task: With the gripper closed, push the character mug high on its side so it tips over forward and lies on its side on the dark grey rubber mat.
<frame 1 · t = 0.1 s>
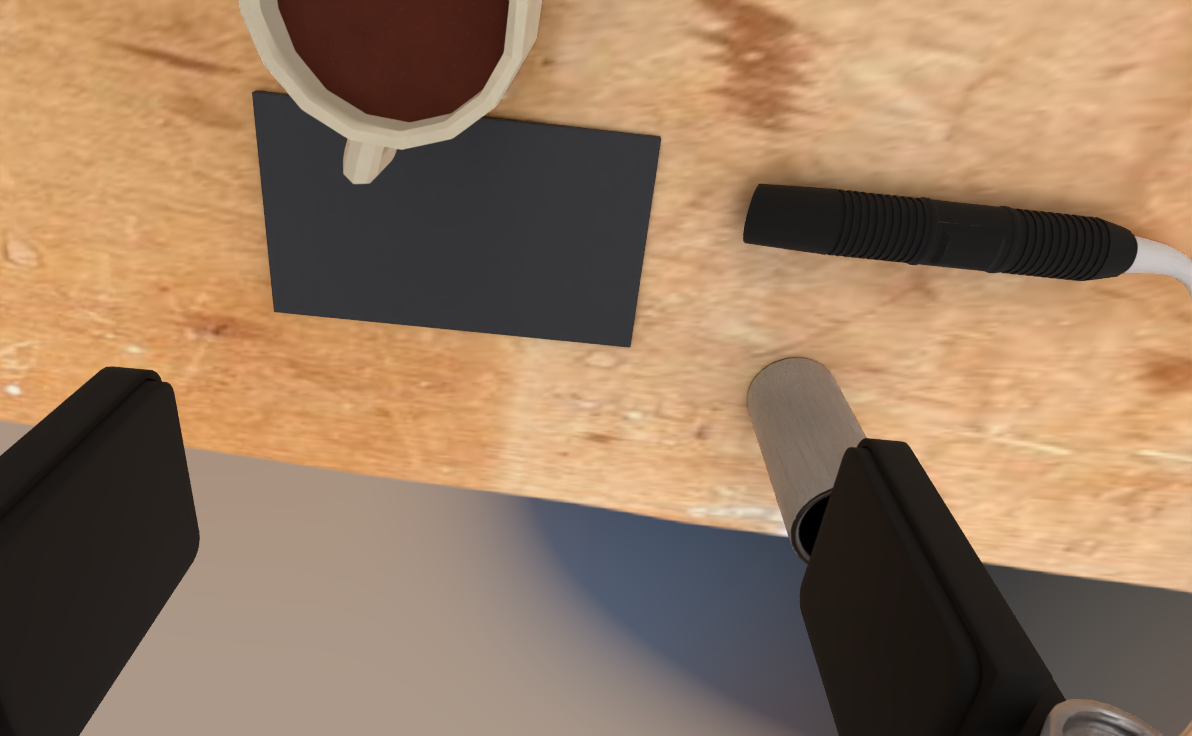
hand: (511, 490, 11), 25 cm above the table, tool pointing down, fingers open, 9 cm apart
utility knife: (964, 237, 35), on the table
mat: (457, 227, 35), on the table
grey hollow cylinder: (790, 393, 39), on the table
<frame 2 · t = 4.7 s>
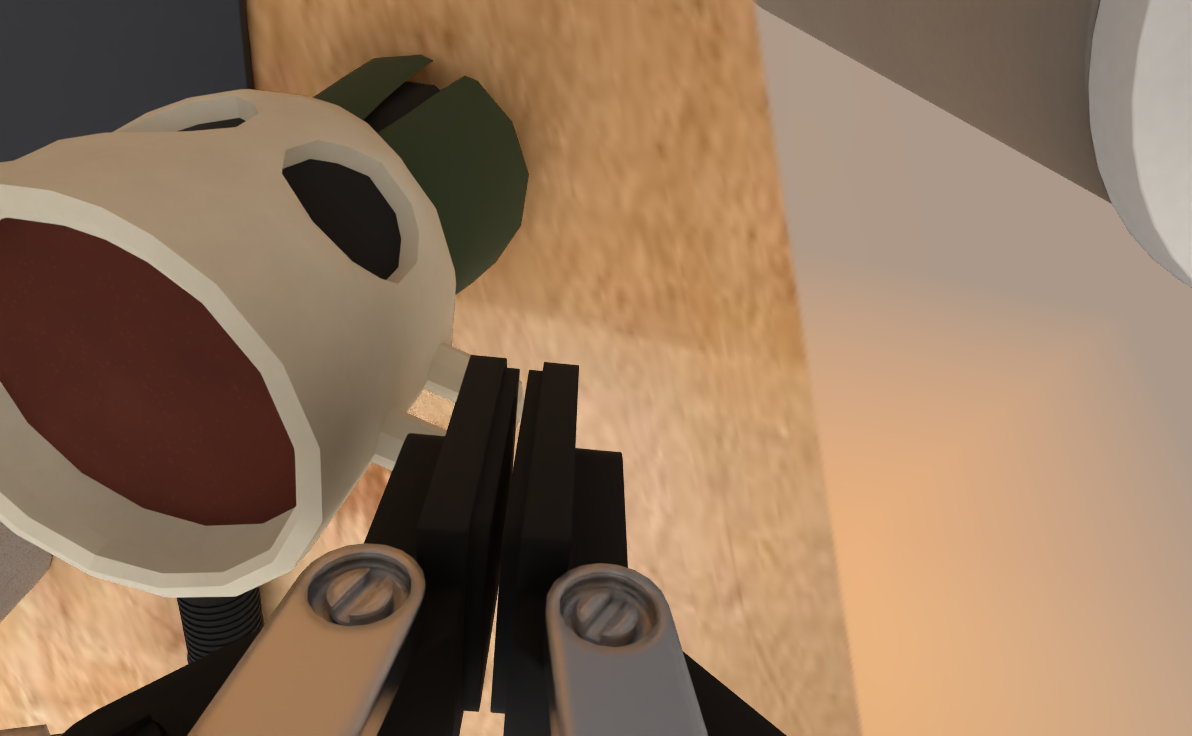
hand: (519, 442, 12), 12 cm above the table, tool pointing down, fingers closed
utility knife: (240, 662, 34), on the table
character mug: (430, 166, 22), on the table, touching gripper
mat: (84, 120, 22), on the table
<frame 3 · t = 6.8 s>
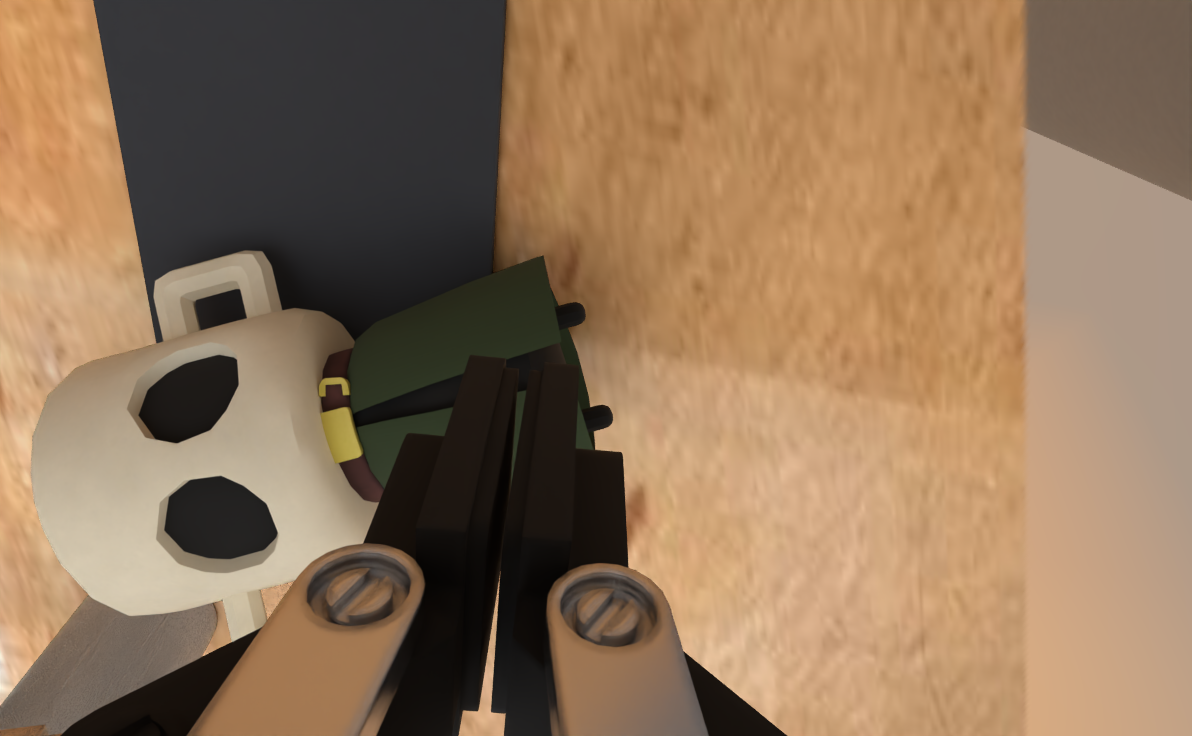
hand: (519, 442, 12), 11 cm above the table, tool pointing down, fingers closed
character mug: (606, 360, 20), point 3 cm above the table, touching mat
mat: (316, 189, 21), on the table
grey hollow cylinder: (160, 604, 29), on the table
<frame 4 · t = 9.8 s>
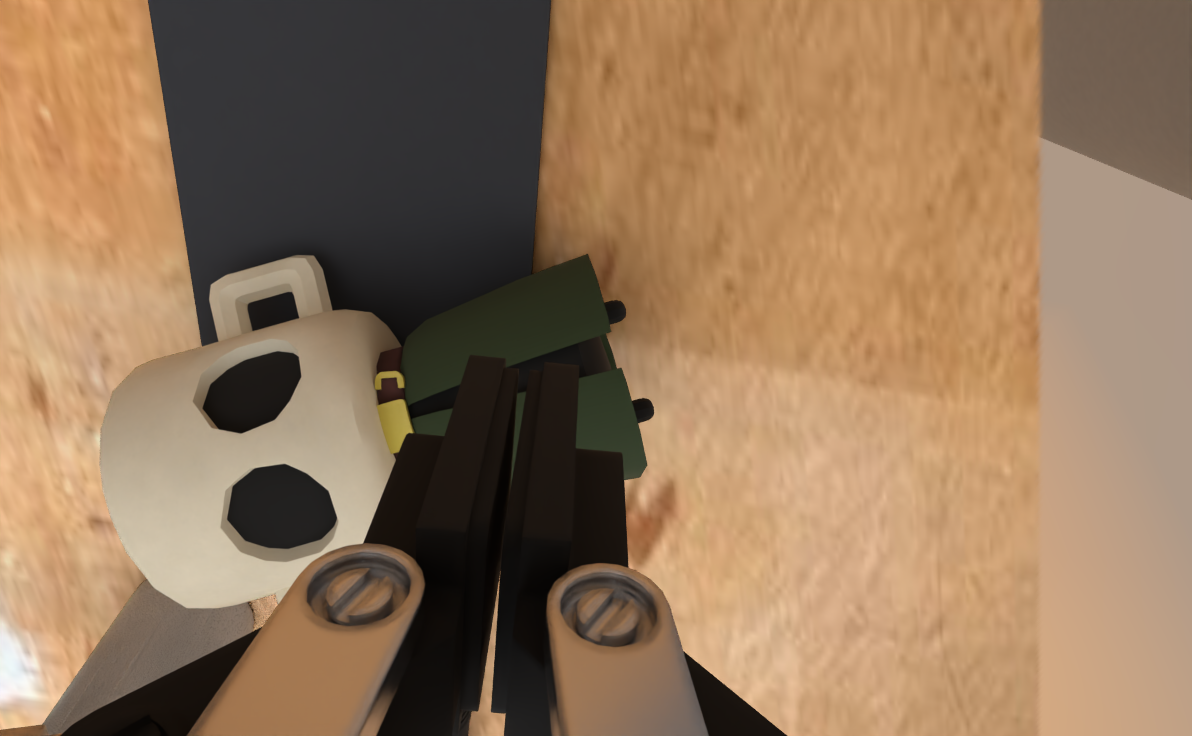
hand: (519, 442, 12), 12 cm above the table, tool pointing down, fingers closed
character mug: (646, 355, 21), point 3 cm above the table, touching mat
mat: (362, 198, 22), on the table
grey hollow cylinder: (197, 607, 30), on the table
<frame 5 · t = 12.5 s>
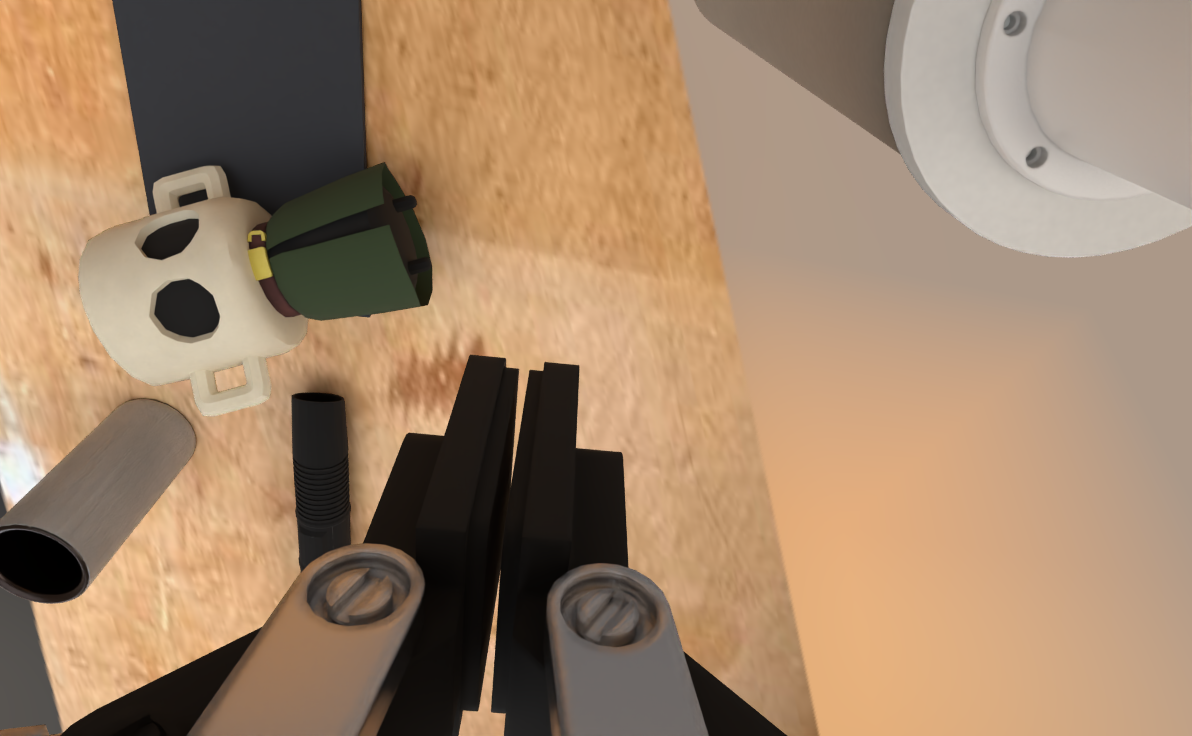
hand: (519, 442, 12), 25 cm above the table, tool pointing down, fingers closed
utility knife: (324, 529, 45), on the table
character mug: (428, 230, 33), point 3 cm above the table, touching mat
mat: (252, 130, 34), on the table
grey hollow cylinder: (156, 431, 42), on the table
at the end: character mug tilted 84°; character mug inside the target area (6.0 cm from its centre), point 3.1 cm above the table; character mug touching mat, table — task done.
